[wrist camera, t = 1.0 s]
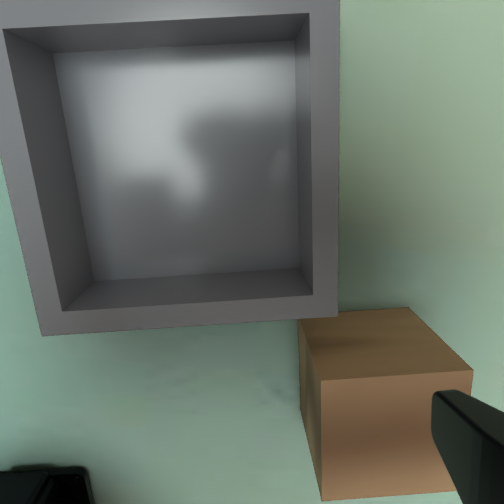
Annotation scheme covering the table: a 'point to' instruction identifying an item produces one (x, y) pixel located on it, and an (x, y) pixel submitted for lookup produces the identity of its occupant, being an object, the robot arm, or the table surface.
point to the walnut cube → (375, 402)
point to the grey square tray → (172, 159)
